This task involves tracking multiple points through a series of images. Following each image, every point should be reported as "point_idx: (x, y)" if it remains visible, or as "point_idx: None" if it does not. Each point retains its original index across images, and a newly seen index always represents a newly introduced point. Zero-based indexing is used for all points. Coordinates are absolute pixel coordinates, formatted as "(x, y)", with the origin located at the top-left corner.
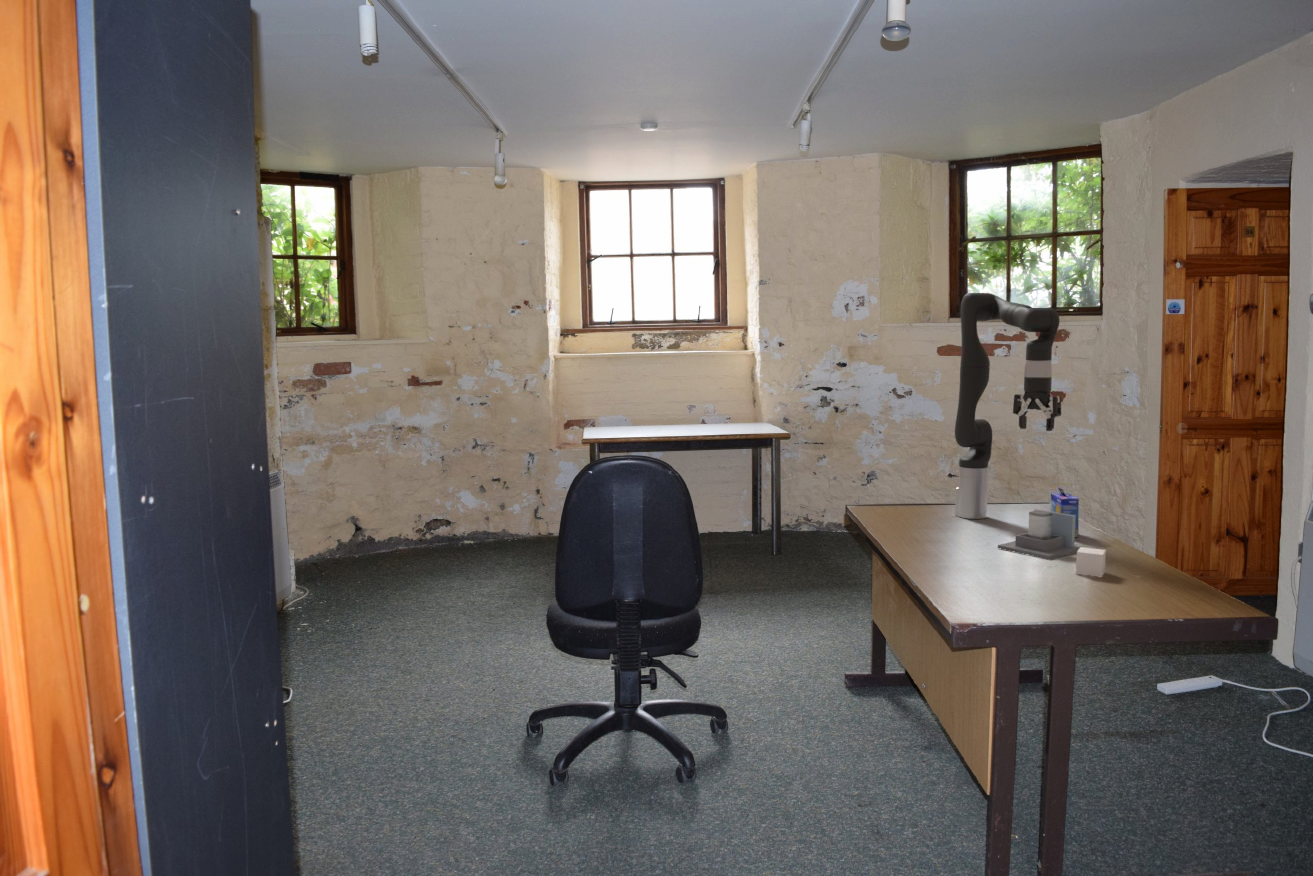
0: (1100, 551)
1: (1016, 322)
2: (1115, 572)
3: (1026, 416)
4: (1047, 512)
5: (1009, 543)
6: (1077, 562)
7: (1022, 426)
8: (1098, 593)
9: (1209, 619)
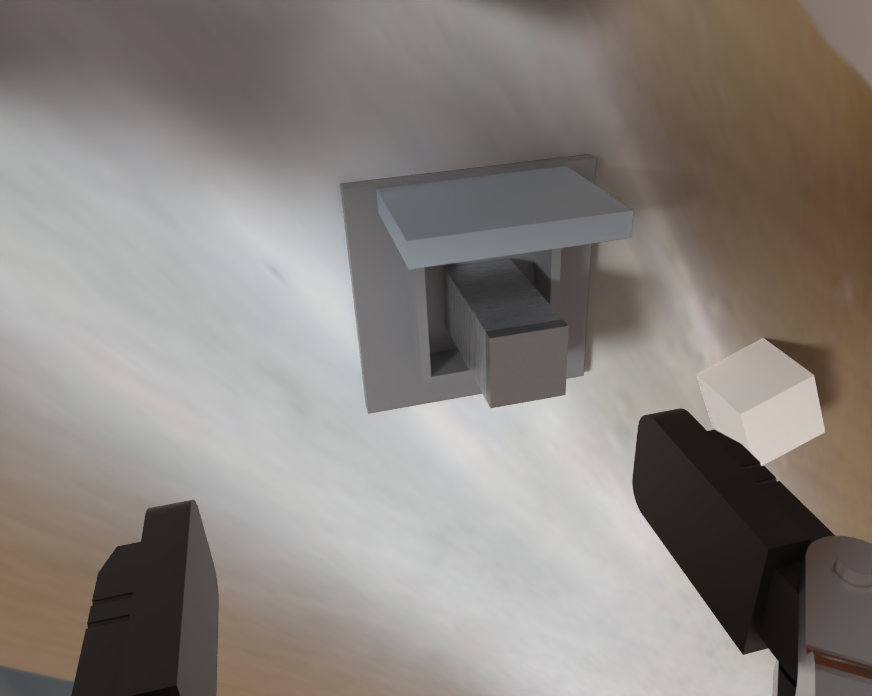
0: (807, 405)
1: None
2: (788, 312)
3: (176, 688)
4: (553, 345)
5: (374, 357)
6: None
7: (213, 606)
8: (814, 503)
9: None
